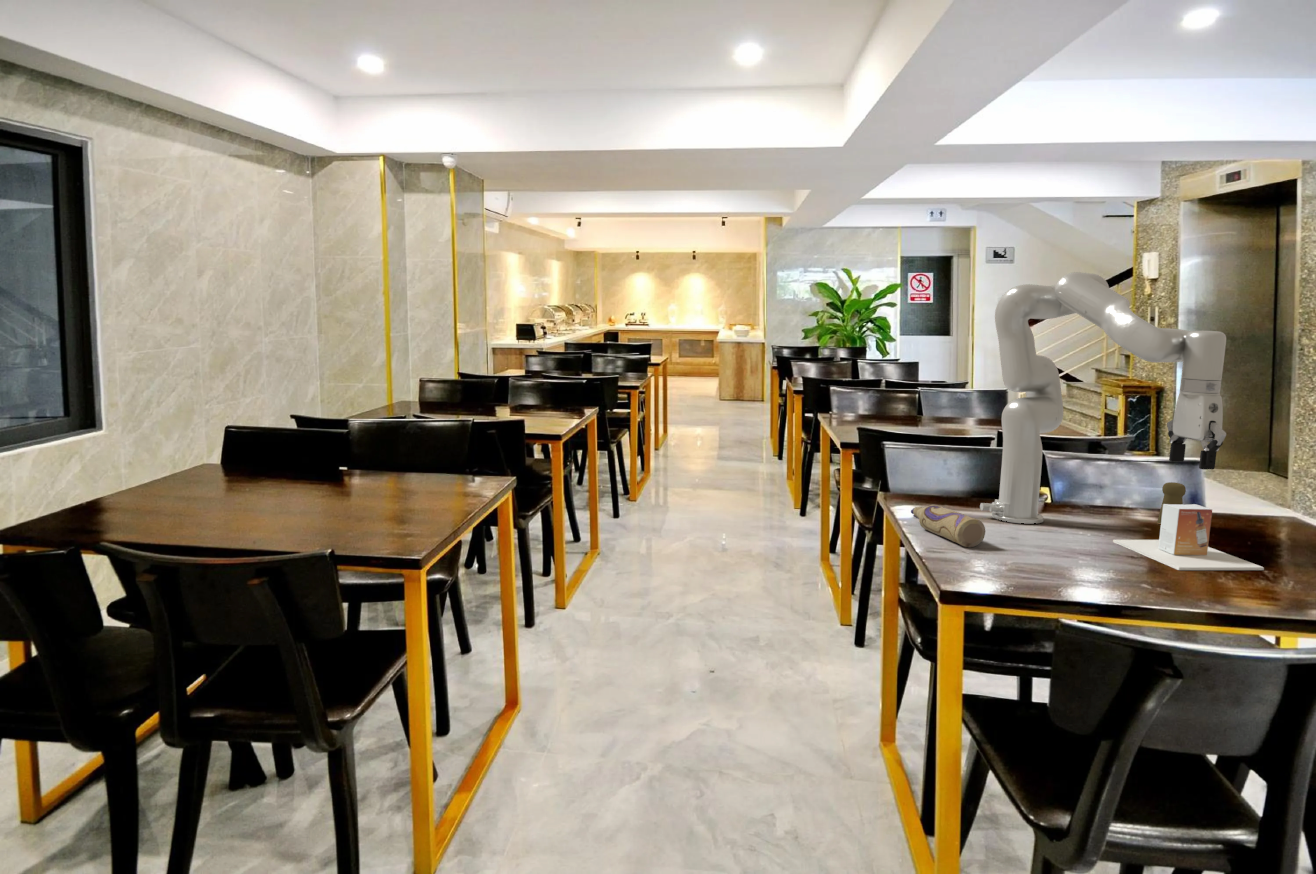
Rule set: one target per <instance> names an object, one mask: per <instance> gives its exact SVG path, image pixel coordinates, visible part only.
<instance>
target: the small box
mask: <svg viewBox="0 0 1316 874" xmlns="http://www.w3.org/2000/svg"><path fill="white" fill-rule="evenodd" d="M1212 517H1213V509H1212V508H1209V507H1206V506H1203V505H1199V504H1197V503H1196V504H1195V503H1193V504H1192V503H1191V504H1184V503H1183V504H1163V510H1162V519H1161V525H1160V529H1159V538H1158V540H1159V545H1158V549H1160V550H1163V551H1166V552H1168V553H1171V554H1173V555H1202V556H1206V555H1207V550H1208V547H1209V541H1210V534H1211V533H1210V532H1211V524H1212Z"/></svg>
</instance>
